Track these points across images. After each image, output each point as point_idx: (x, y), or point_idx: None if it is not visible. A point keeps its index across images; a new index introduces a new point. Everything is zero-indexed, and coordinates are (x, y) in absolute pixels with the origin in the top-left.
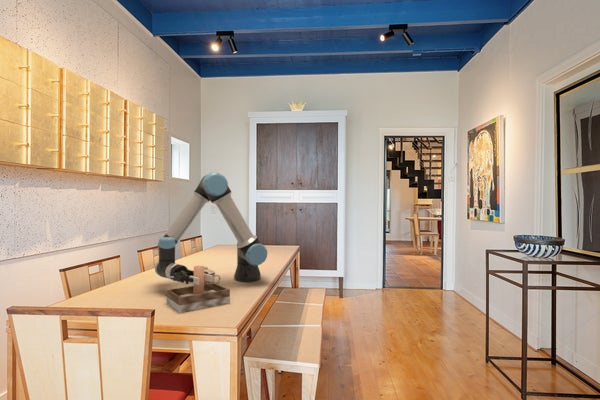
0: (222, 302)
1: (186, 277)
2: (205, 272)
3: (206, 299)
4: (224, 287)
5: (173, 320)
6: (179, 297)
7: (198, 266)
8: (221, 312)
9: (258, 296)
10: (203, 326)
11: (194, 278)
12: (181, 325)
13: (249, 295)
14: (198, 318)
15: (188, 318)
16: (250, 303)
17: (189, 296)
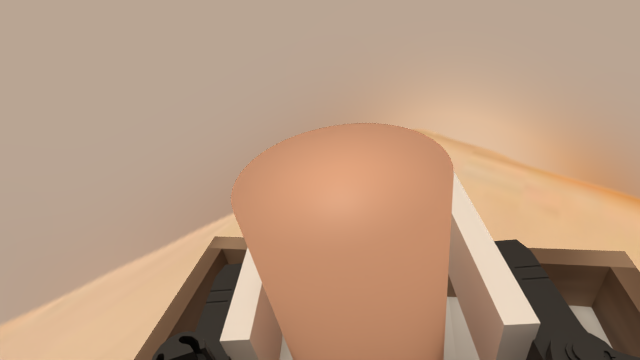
0: None
1: (599, 349)
2: (179, 344)
3: None
4: (180, 297)
5: (623, 243)
6: (628, 266)
7: (340, 179)
8: None
9: (62, 298)
10: (488, 155)
11: (472, 215)
12: (574, 186)
13: (41, 350)
14: (485, 209)
15: (533, 229)
16: (198, 238)
17: (529, 248)
